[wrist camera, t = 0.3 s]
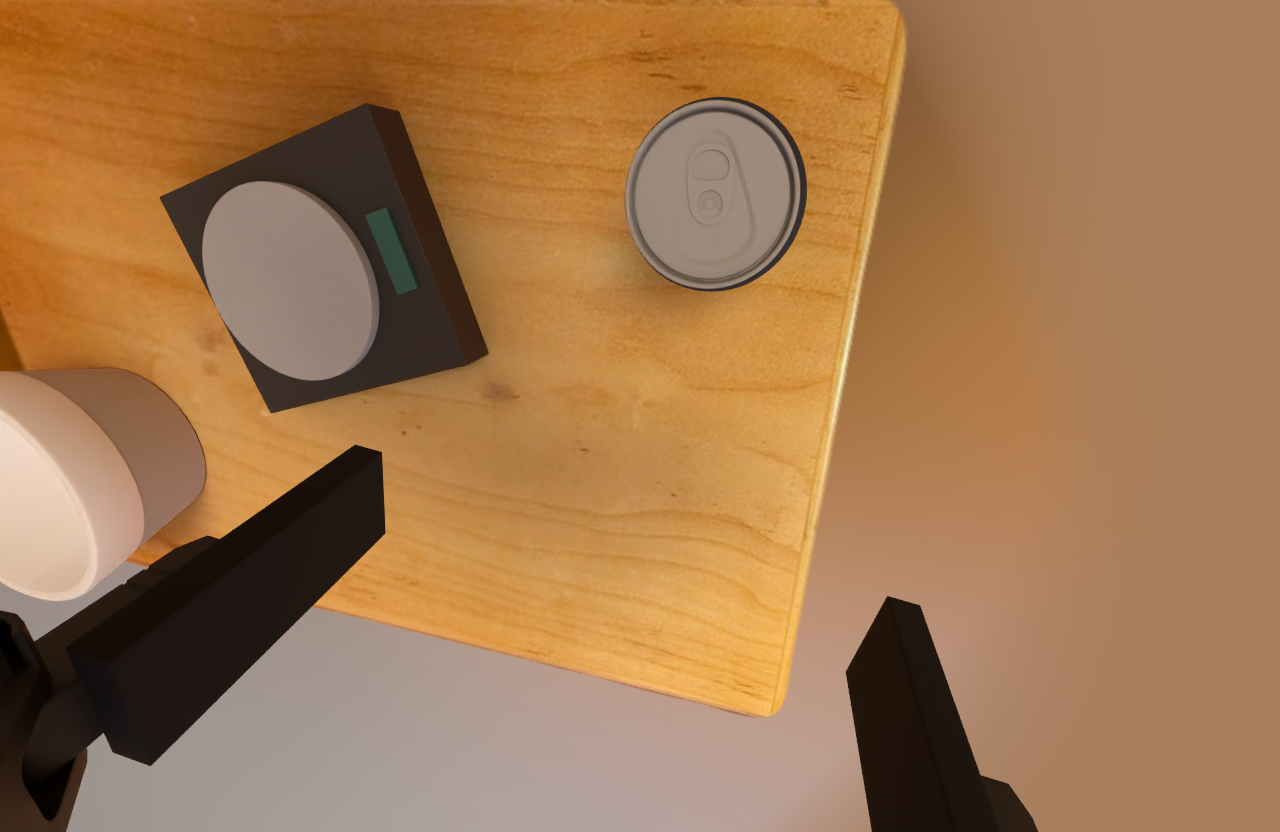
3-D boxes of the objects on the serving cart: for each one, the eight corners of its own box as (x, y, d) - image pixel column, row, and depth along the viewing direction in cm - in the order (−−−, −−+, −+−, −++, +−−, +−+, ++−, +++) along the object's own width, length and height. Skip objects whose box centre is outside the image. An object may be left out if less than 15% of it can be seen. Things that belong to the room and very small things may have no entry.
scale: (201, 197, 39) (146, 196, 36) (398, 110, 34) (356, 100, 30) (301, 400, 44) (261, 417, 40) (489, 353, 38) (461, 368, 35)
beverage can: (684, 145, 31) (612, 97, 17) (797, 138, 29) (818, 81, 16) (684, 258, 33) (620, 295, 19) (789, 257, 31) (800, 297, 18)
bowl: (213, 367, 45) (57, 412, 35) (243, 551, 52) (121, 631, 43) (30, 317, 47) (-163, 347, 38) (83, 499, 55) (-65, 563, 45)
